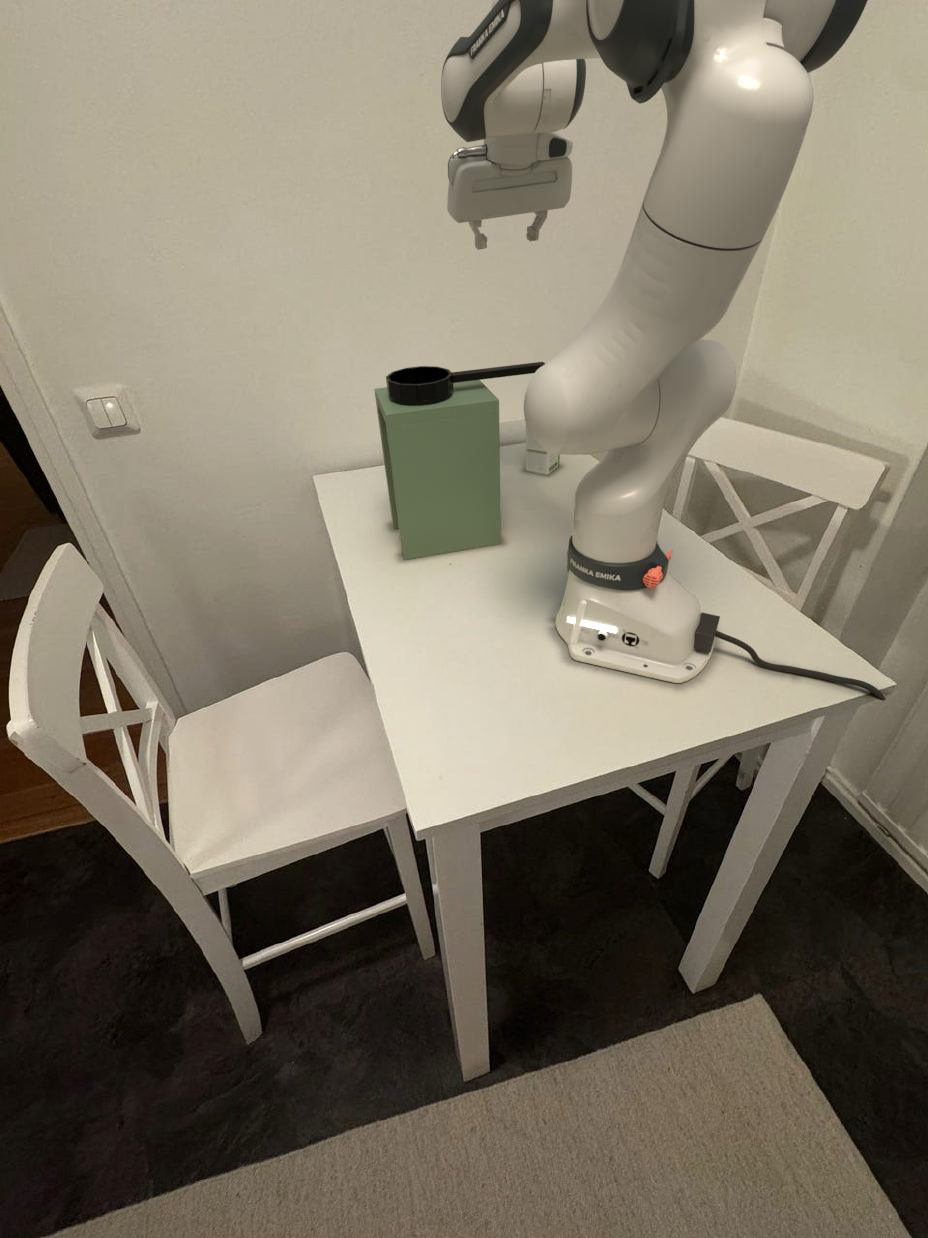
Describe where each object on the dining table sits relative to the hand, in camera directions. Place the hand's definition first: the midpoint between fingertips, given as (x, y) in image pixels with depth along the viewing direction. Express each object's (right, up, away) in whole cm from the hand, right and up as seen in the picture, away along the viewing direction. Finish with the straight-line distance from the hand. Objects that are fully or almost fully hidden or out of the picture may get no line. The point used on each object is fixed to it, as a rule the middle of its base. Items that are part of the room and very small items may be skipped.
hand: (506, 243), depth 101 cm
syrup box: (+11, -29, +35) cm, 47 cm away
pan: (-6, -25, -1) cm, 26 cm away
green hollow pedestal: (-11, -47, +13) cm, 50 cm away
